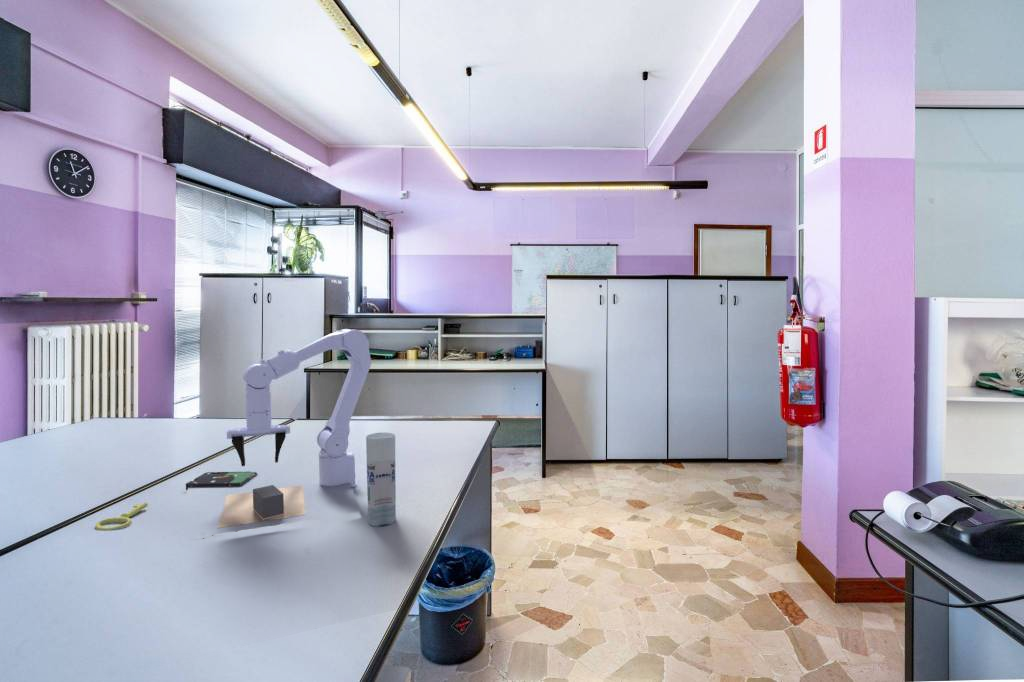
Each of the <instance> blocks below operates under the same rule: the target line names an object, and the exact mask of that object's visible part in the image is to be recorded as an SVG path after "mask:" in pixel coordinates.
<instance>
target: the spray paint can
mask: <svg viewBox="0 0 1024 682" xmlns="http://www.w3.org/2000/svg"><path fill="white" fill-rule="evenodd" d="M365 443H366V444H365V447H366V451H365V452H366V453H365V454H366V489H367V493H366V494H367V523H368V524H369V525H370V526H373V527H386V526H389V525H392V524H394V523H395V521H396V519H397V517H396V516H397V513H396V512H397V510H396V507H397V506H396V505H397V503H396V501H397V500H396V497H397V496H396V495H397V494H396V491H397V490H396V488H397V487H396V434H395V433H392V432H375V433H369V434H368V435H366V436H365Z"/></svg>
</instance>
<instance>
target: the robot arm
mask: <svg viewBox="0 0 1024 682" xmlns="http://www.w3.org/2000/svg"><path fill="white" fill-rule="evenodd" d="M369 347H370V341H369V339H368V338H367V336H366V334H365V333H364V332H363V331H362V330H359V329H350V328H343V329H340V330H338V331H335V332H332V333H329V334H327V335H325V336H322V337H320V338H318V339H317V340H315V341H313V342H311V343H308V344H307V345H305V346H303V347H301V348H299V349H297V350H295V351H293V350H291V349H286V350H284V349H280V350H278V351H277V353H276V354H275V355H273V356H271V357H269V358H266V359H264V358H262V359H260V360H259V363H254V364H251V365H249V366H247V367H246V369H245V370H244V373H243V375H242V377H243V380H244V382H245V383H246V384H245V385H246V386H245V392H246V394H245V411H246V412H245V413H246V414H245V415H246V420H245V421H246V427H240V428H234V429H227V430H226V440H231V443H232V446H233V447H234V449H235V451H236V452H237V454H238V456H239V460H240V464H241V467H245V466H246V458H245V457H246V456H245V438H246V437H258V436H260V437H261V436H269V435H270V436H272V435H274V438H275V440H274V443H275V452H274V454H275V455H274V463H279V457H280V451H281V449H282V447H283V444H284V441H285V439H286V435H288V434H291V425H290V424H282V425H281V424H278V425H275V424H274V425H273V424H272V403H271V401H272V397H271V391H270V387H271V386H270V384H271V383H272V381H273V380H278V379H279V378H282V377H284V376H286V375H289V374H290V373H292V372H294V371H297V370H298V369H299V368H300V365H301V363H302V362H304V361H306V360H309V359H311V358H313V357H316V356H318V355H319V354H322V353H325V352H327V351H329V350H330V351H331V350H332V351H341V352H342V353H344V355H345V356H346V358H347V360H348V361H349V363H350V367H349V369H348V372H347V375H346V378H345V379H344V383H343V384H342V387H341V390H340V391H339V392H340V393H339V396H338V398H337V401H336V404H335V406H334V409H333V411H332V414H331V416H330V418H329V419H328V420H327V421H326V423H325V425H324V427H323V428H322V429H321V430H320V431H319V433H318V435H317V437H316V443H317V446H319V448H321V449H320V451H319V453H318V462H319V463H318V466H319V469H318V471H319V472H318V473H319V474H318V476H319V477H318V478H319V480H318V481H319V485H320V486H322V487H323V486H324V487H335V486H340V485H344V484H350V487H351V488H355V487H356V461H355V460H356V459H355V453H354V452H353V451H352V452H351V451H349V452H347V450H348V447H349V436H350V432H351V431H350V422H351V420H352V418H353V415H354V412H355V409H356V406H357V403H358V402H359V397H360V395H361V392H362V389H363V387H364V384H365V381H366V379H367V376H368V374H369V372H370V368H371V366H372V358H371V354H370V353H371V352H370V348H369Z"/></svg>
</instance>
